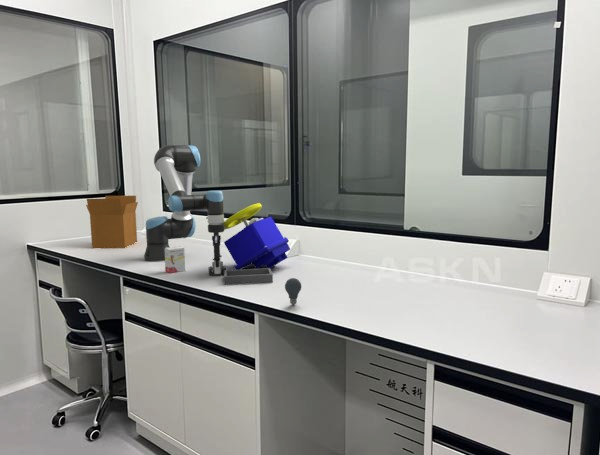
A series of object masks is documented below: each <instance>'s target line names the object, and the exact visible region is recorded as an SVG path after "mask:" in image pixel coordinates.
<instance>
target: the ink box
mask: <svg viewBox="0 0 600 455" xmlns="http://www.w3.org/2000/svg"><path fill="white" fill-rule="evenodd" d="M169 247H170V248H165V260H164V266H165V268H164V270H165V273H167V274H173V273H180V272H185V271H186V260H185V258H186V256H185V247H183V246H169Z"/></svg>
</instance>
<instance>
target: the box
mask: <svg viewBox="0 0 600 455" xmlns="http://www.w3.org/2000/svg"><path fill="white" fill-rule="evenodd" d="M86 202H87V203H86V204H85V206H86V209H87V211H88V213H89V220H90V223H89V224H90V234H91V235H90V236H91V238H90V239H91V248H92V249H93V248H101V249H126V248H128V247H127V246H129V245H131V246H133V245H135V244H136V243H135V242H137V243H138V235H137V234H138V233H137V218H136V217H137V216H136V215H137V214H136V210H137V207H138V203H139V201H137V195H105V198H86ZM134 243H135V244H134ZM132 244H133V245H132ZM125 247H126V248H125ZM129 247H130V246H129Z"/></svg>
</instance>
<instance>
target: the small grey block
mask: <svg viewBox="0 0 600 455" xmlns="http://www.w3.org/2000/svg"><path fill="white" fill-rule="evenodd" d="M211 264H212V272H213V274H212V275H220V274H215V269H214V261H212V262H211ZM223 266H224V261H221V260H220V271H221V274H223Z"/></svg>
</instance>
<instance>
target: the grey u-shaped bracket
mask: <svg viewBox="0 0 600 455" xmlns="http://www.w3.org/2000/svg"><path fill="white" fill-rule="evenodd" d="M207 269H208V276H209V277H222V276H224V272H225V270H227V265H223V274H220V275H213V271H212V266H209V267H208V268H207Z"/></svg>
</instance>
